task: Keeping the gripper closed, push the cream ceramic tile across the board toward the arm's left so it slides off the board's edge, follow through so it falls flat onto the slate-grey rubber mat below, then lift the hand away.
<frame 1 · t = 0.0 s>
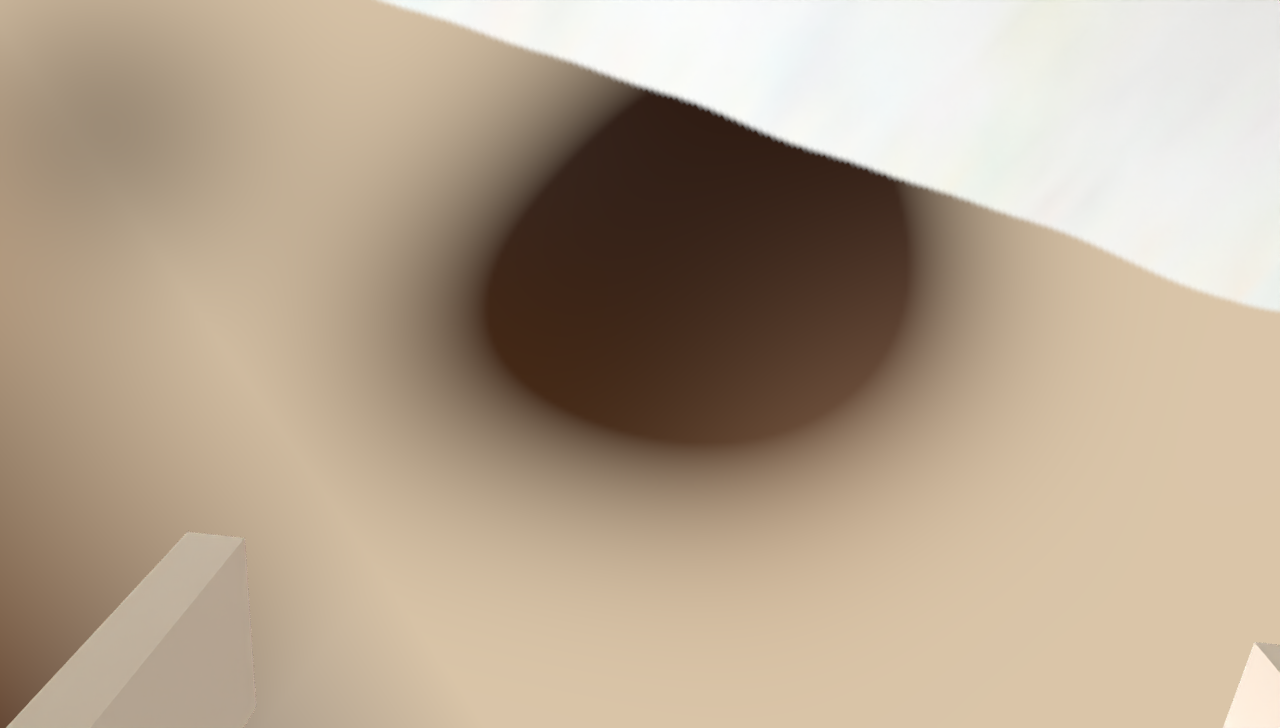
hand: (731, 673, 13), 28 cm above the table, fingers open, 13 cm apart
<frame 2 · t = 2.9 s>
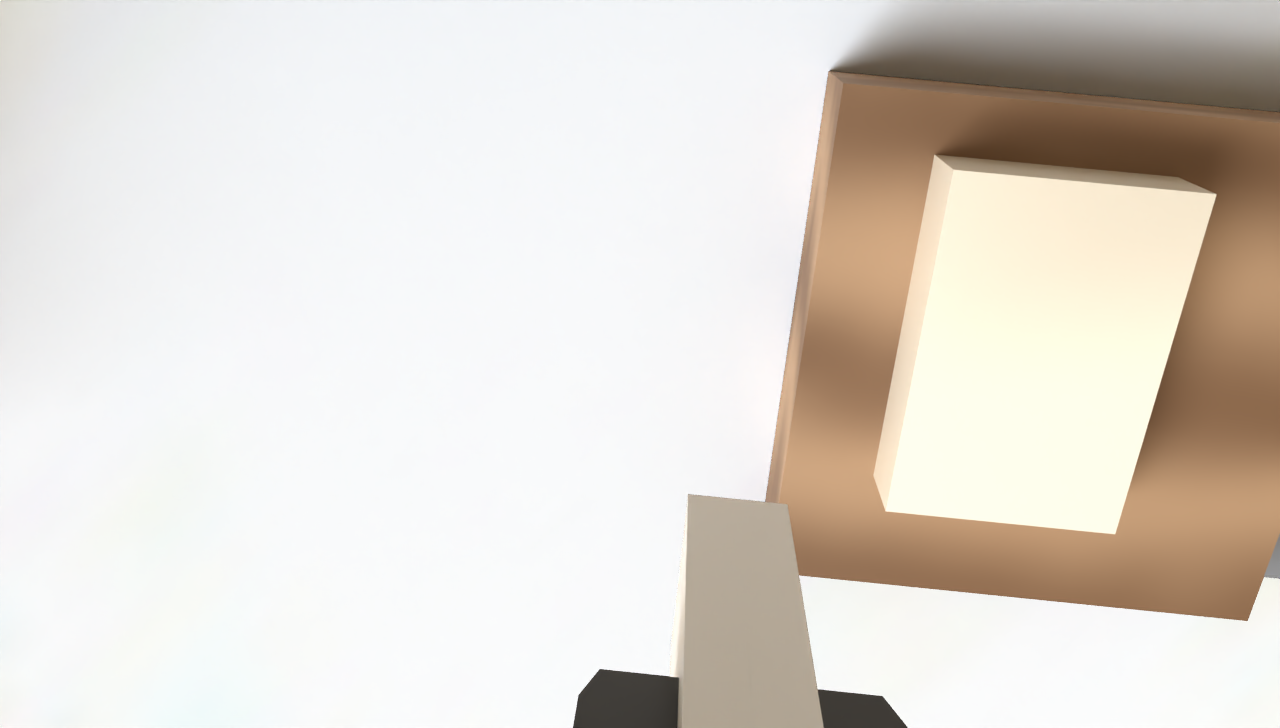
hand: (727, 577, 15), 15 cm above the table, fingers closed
tile: (1015, 336, 27), point 3 cm above the table, touching board
board: (1029, 337, 30), on the table
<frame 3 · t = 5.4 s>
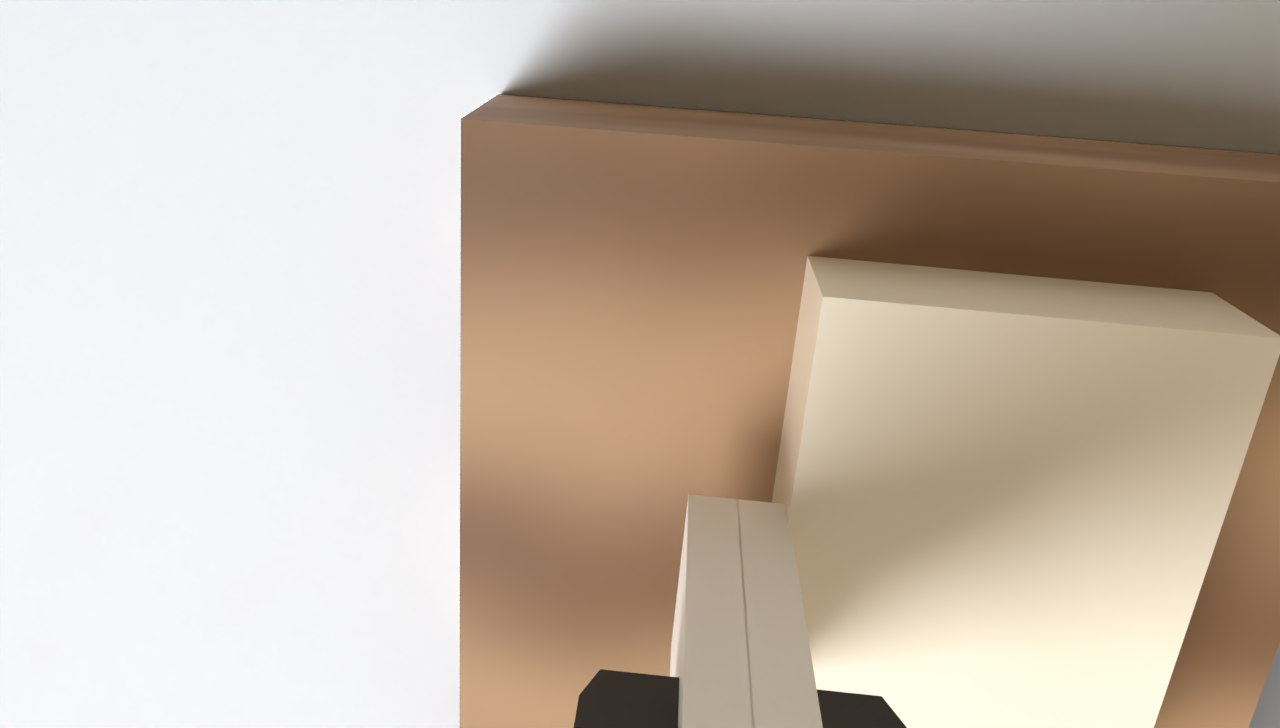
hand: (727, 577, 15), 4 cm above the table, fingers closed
tile: (950, 535, 17), point 3 cm above the table, touching board, gripper
board: (847, 487, 20), on the table
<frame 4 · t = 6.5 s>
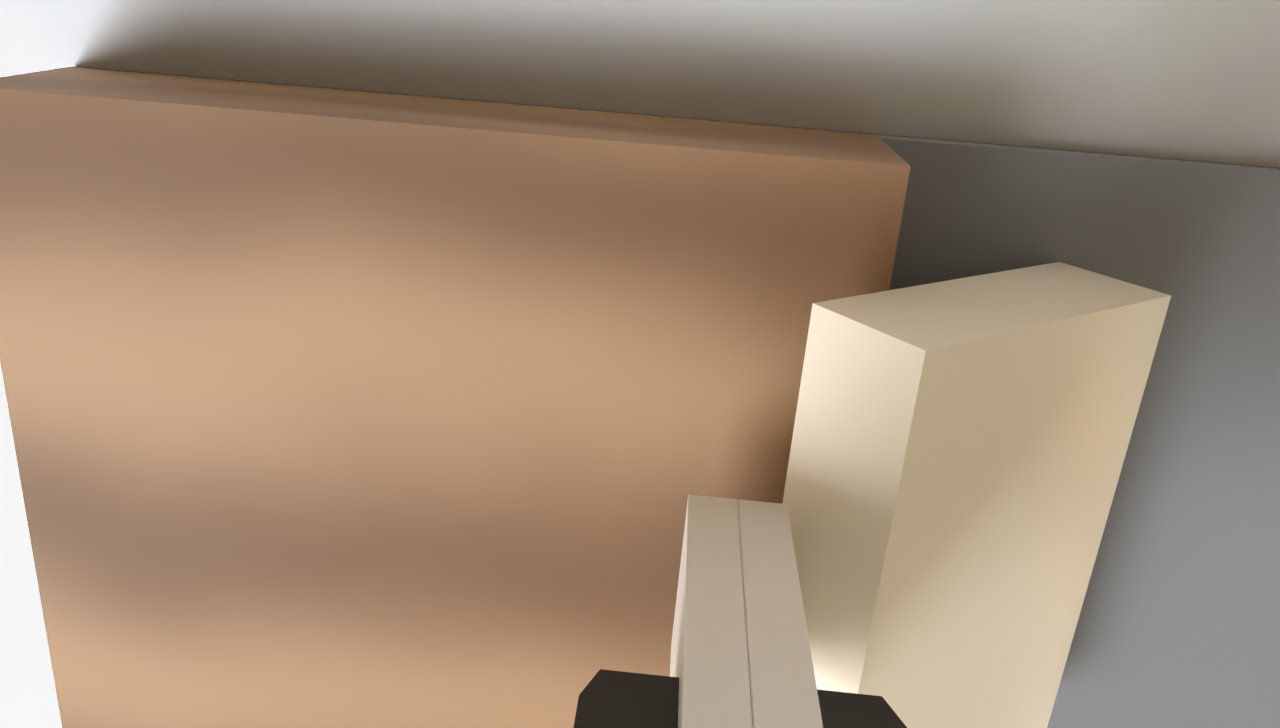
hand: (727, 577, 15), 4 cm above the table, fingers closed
tile: (899, 529, 17), point 2 cm above the table, tilted 39°, touching gripper, mat
mat: (1100, 520, 20), on the table
board: (465, 461, 20), on the table
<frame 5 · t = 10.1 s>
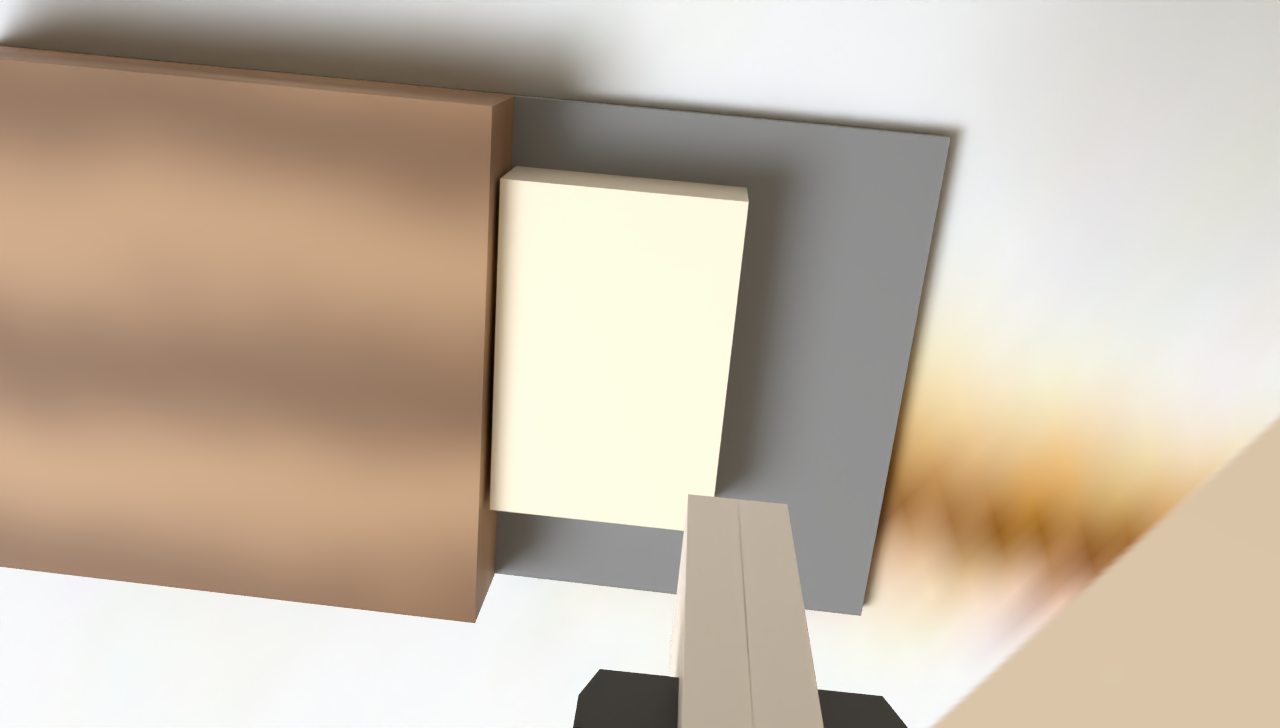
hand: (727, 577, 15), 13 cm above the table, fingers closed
tile: (618, 341, 28), resting on mat
mat: (701, 371, 28), on the table
board: (263, 324, 29), on the table
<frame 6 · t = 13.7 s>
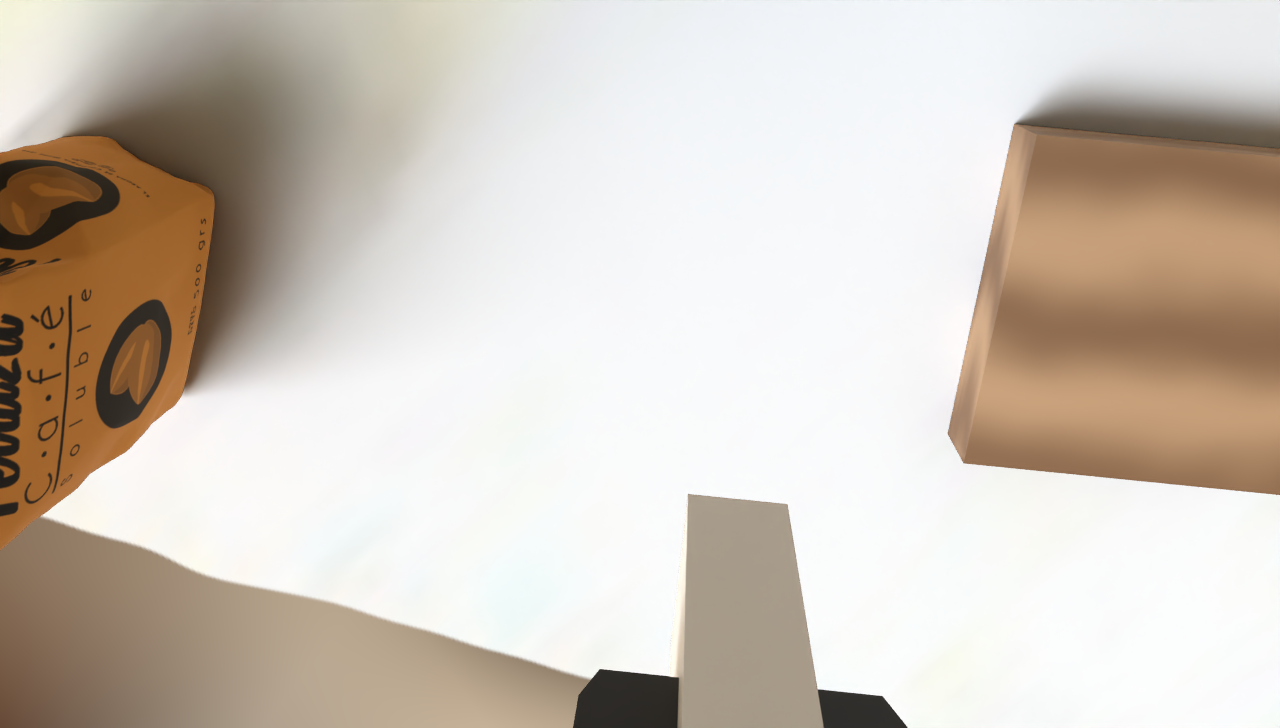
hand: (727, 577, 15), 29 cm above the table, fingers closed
coffee package: (127, 268, 46), on the table
board: (1141, 303, 44), on the table
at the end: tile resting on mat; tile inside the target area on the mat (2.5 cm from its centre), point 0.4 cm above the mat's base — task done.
